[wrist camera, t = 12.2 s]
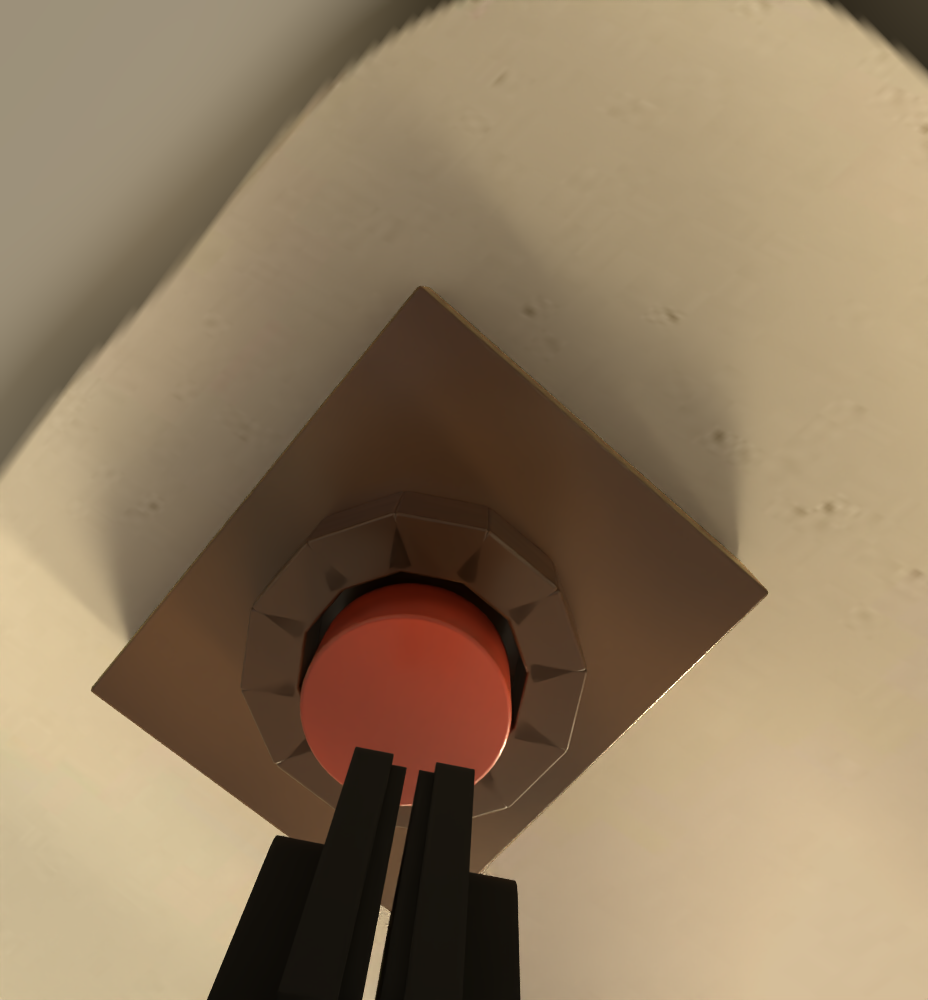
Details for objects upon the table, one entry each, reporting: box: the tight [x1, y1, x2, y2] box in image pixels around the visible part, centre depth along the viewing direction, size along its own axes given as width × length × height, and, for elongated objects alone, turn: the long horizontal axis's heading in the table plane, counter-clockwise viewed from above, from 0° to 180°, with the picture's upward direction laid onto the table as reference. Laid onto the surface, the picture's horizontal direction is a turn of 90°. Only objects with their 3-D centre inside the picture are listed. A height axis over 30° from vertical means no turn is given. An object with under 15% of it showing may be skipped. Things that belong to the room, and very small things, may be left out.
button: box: [300, 583, 512, 806], centre depth 16 cm, size 4×4×2 cm
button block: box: [91, 286, 768, 912], centre depth 18 cm, size 12×10×4 cm
